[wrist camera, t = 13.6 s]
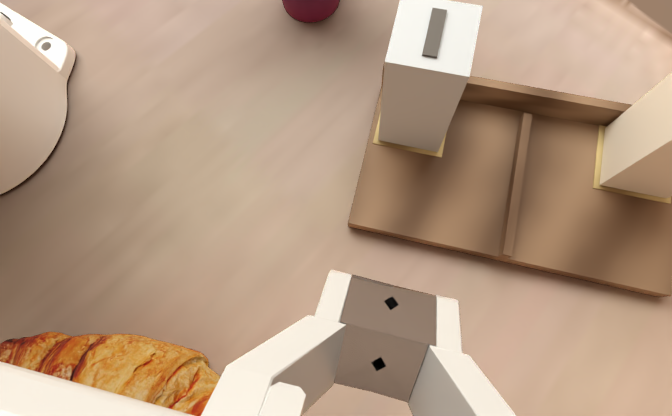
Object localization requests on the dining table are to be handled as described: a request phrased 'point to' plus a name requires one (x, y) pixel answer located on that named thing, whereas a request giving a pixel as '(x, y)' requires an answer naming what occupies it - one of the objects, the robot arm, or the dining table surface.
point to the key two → (641, 145)
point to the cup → (310, 9)
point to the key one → (426, 70)
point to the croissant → (120, 366)
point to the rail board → (520, 190)
